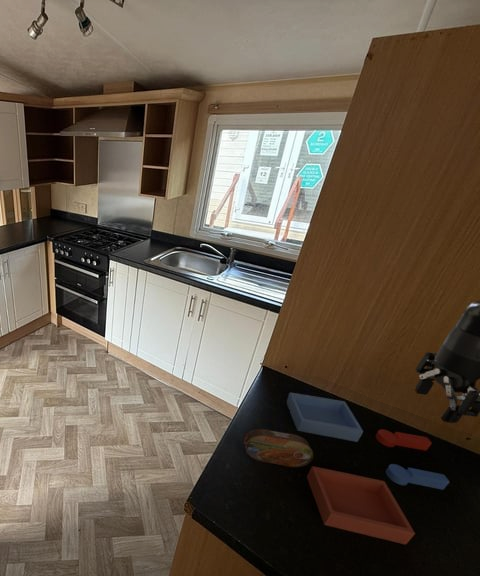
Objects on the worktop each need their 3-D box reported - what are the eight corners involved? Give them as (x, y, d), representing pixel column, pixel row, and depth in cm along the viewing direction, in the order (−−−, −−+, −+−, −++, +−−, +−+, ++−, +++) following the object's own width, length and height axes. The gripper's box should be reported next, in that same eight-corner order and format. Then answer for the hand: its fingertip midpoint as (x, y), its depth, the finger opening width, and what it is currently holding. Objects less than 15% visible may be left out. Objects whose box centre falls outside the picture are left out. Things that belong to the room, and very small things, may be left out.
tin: (242, 457, 79) (249, 434, 75) (240, 446, 82) (247, 424, 78) (308, 471, 76) (319, 448, 72) (303, 459, 79) (314, 436, 75)
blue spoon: (434, 477, 75) (440, 470, 73) (446, 494, 71) (453, 486, 70) (382, 467, 77) (387, 459, 76) (391, 483, 73) (397, 475, 72)
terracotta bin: (377, 492, 72) (384, 481, 70) (406, 544, 62) (415, 533, 61) (306, 476, 75) (311, 465, 73) (324, 524, 66) (330, 513, 64)
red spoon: (419, 441, 84) (424, 433, 82) (429, 454, 80) (435, 446, 79) (372, 432, 86) (376, 425, 85) (380, 445, 82) (385, 437, 81)
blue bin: (340, 411, 93) (345, 401, 91) (357, 442, 83) (363, 431, 81) (286, 402, 96) (289, 392, 94) (297, 430, 86) (301, 420, 85)
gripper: (526, 375, 58) (479, 435, 65) (464, 332, 70) (430, 387, 77) (476, 369, 59) (436, 428, 66) (424, 328, 72) (395, 382, 79)
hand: (433, 406), depth 72 cm, fingers open, 8 cm apart
